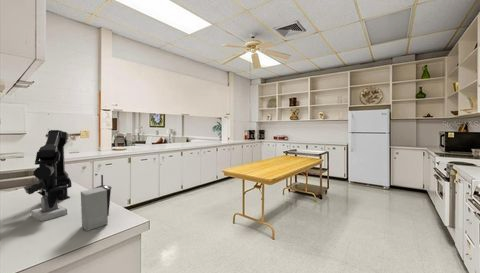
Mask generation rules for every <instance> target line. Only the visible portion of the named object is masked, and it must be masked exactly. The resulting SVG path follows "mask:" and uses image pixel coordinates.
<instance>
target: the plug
mask: <svg viewBox="0 0 480 273" xmlns="http://www.w3.org/2000/svg"><path fill="white" fill-rule="evenodd" d="M58 201H59V200H58V199H57V200H56V202H55V204H54V206H53V208H49V204H48V199H47V197H42V196H41V197H40V204H41V206H40V208H41V212H42V213H45V212H49V211H53V210H57V209H58V205H59V204H58V203H59V202H58Z"/></svg>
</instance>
